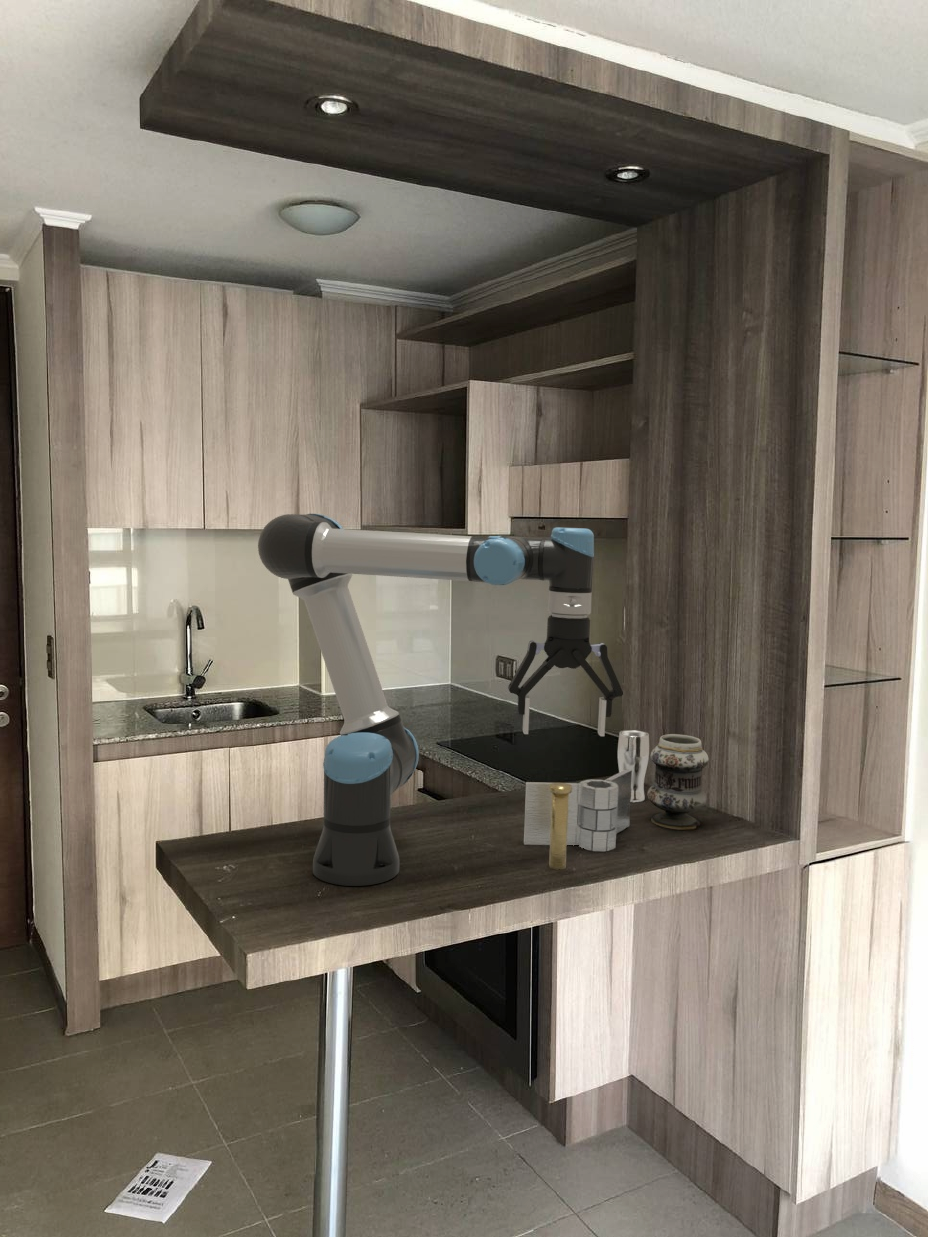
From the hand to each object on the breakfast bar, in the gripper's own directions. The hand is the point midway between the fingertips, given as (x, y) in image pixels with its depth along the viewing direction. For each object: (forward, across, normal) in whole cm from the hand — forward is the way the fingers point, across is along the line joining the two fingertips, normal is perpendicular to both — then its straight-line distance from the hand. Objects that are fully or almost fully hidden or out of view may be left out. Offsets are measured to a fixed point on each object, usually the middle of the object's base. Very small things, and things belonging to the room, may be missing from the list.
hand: (563, 733), depth 175 cm
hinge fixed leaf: (+24, +4, +12) cm, 27 cm away
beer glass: (+24, +23, +43) cm, 55 cm away
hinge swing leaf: (+24, +12, +16) cm, 31 cm away
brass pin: (+24, 0, 0) cm, 24 cm away
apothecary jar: (+24, +28, +26) cm, 46 cm away
